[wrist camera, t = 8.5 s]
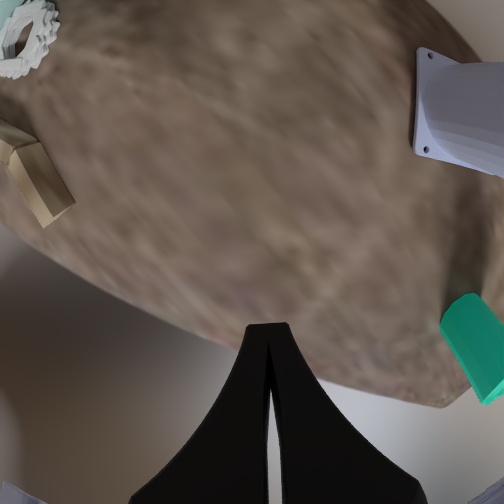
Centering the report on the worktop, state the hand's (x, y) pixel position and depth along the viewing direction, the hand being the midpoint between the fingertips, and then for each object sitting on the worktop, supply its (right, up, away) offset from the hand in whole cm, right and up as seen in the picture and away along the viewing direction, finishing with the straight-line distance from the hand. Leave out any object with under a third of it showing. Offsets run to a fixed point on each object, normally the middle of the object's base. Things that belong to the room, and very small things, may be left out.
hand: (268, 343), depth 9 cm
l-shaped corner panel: (-17, +20, +2) cm, 27 cm away
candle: (+22, -3, +14) cm, 26 cm away
